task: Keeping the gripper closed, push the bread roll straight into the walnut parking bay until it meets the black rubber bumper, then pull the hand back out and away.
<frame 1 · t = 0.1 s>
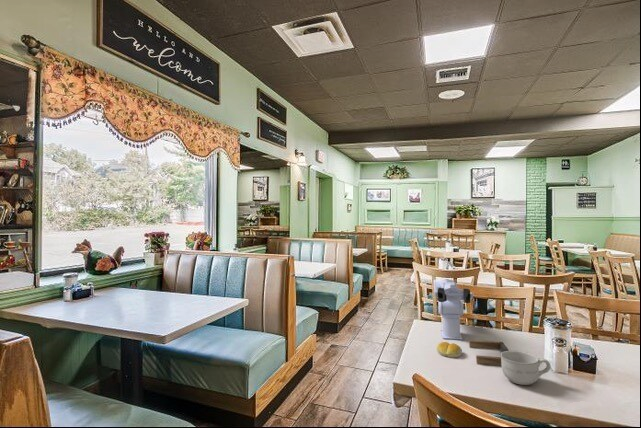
hand: (456, 298, 129), 22 cm above the table, tool horizontal, fingers open, 7 cm apart
bread roll: (449, 354, 131), on the table
parking bay: (488, 355, 128), on the table
teacup: (525, 381, 108), on the table
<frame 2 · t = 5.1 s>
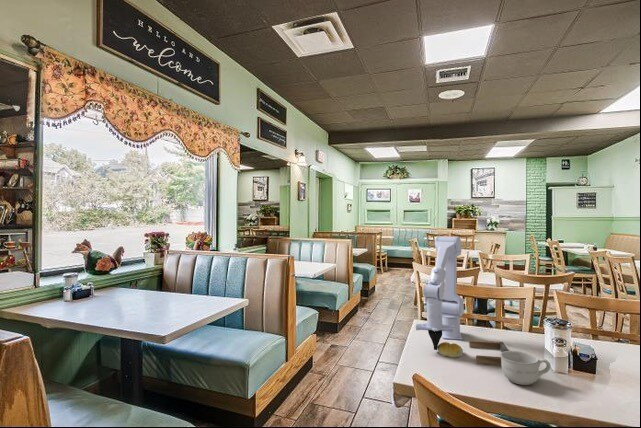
hand: (435, 348, 132), 1 cm above the table, tool pointing down, fingers closed
bread roll: (450, 354, 131), on the table, touching gripper
everything else where it was.
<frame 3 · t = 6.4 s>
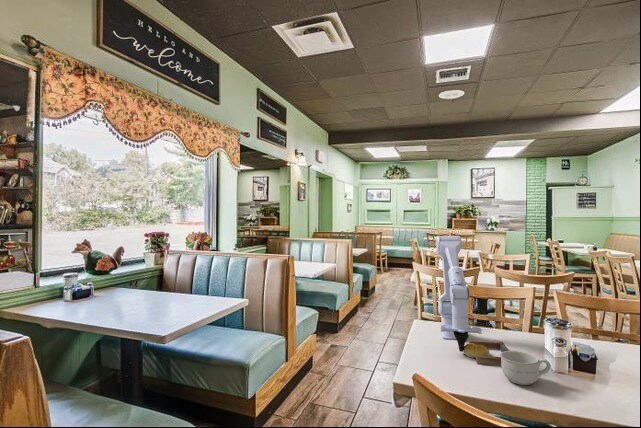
hand: (461, 350, 130), 1 cm above the table, tool pointing down, fingers closed
bread roll: (476, 355, 129), on the table, touching gripper
everything else where it was.
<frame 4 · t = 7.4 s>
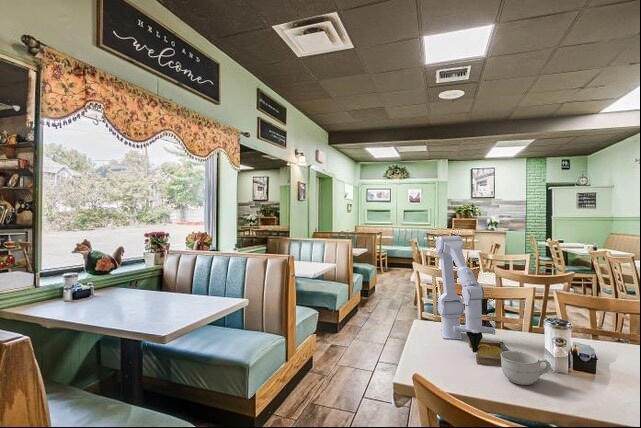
hand: (474, 351, 129), 1 cm above the table, tool pointing down, fingers closed
bread roll: (490, 356, 127), on the table, touching gripper
everything else where it was.
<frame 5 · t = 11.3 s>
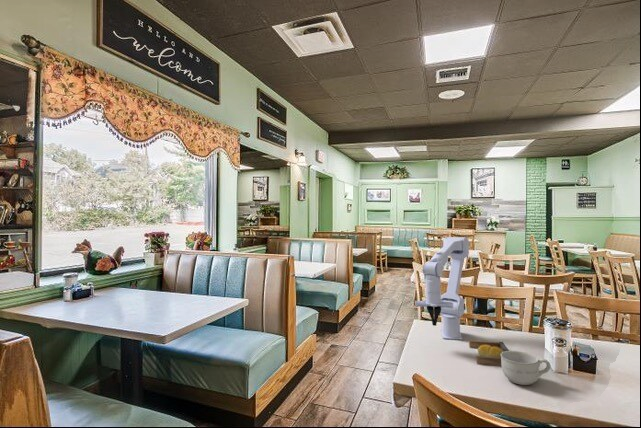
hand: (434, 324, 136), 9 cm above the table, tool pointing down, fingers closed
bread roll: (491, 357, 127), on the table
everything else where it was.
at the end: bread roll 0.4 cm off-centre on the parking bay, point -0.5 cm above the parking bay's base; bread roll moved 14.9 cm from its start; the gripper is holding nothing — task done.
